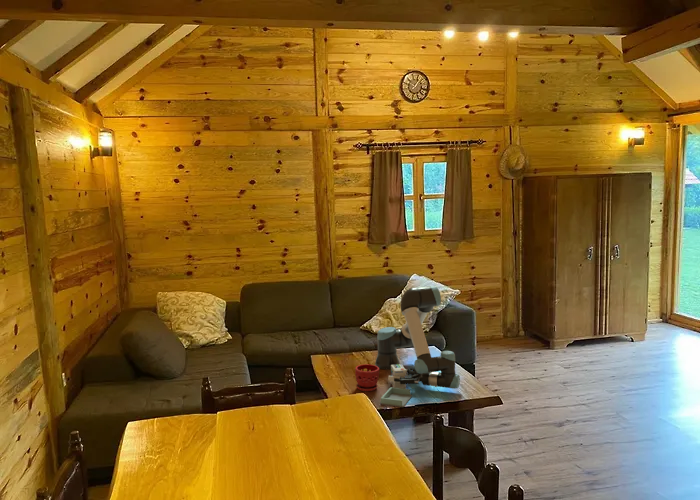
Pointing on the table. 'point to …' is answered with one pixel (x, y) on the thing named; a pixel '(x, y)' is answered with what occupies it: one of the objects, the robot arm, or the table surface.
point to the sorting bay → (396, 397)
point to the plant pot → (367, 377)
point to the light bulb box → (398, 375)
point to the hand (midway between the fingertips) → (392, 374)
